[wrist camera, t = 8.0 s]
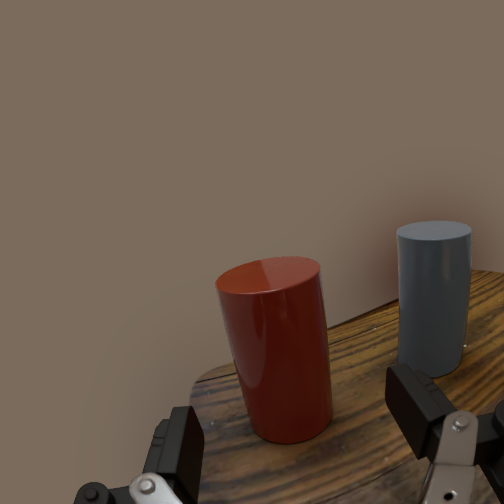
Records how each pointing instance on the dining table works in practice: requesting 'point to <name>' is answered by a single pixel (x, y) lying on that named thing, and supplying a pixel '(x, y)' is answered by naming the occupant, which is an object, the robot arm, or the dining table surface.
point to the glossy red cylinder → (279, 345)
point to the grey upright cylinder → (433, 294)
